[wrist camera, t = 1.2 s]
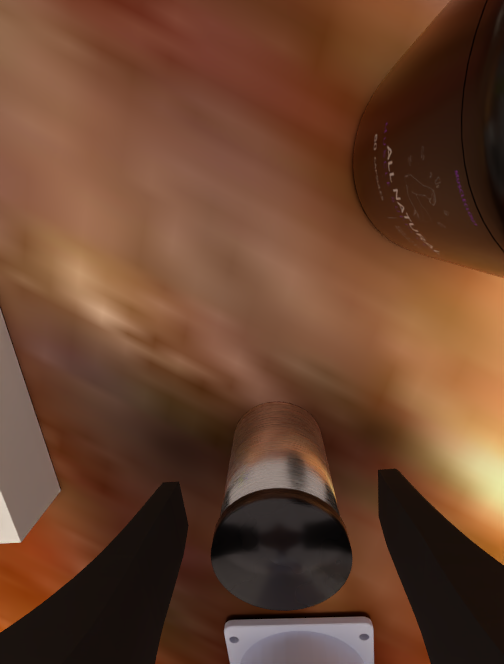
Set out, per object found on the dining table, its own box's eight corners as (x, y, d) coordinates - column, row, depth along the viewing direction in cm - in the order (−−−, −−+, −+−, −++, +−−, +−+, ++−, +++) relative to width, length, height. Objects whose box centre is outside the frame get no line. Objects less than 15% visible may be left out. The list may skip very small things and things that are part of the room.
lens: (326, 476, 17) (354, 608, 11) (237, 481, 17) (221, 612, 12) (321, 396, 16) (349, 499, 10) (226, 403, 16) (200, 507, 10)
